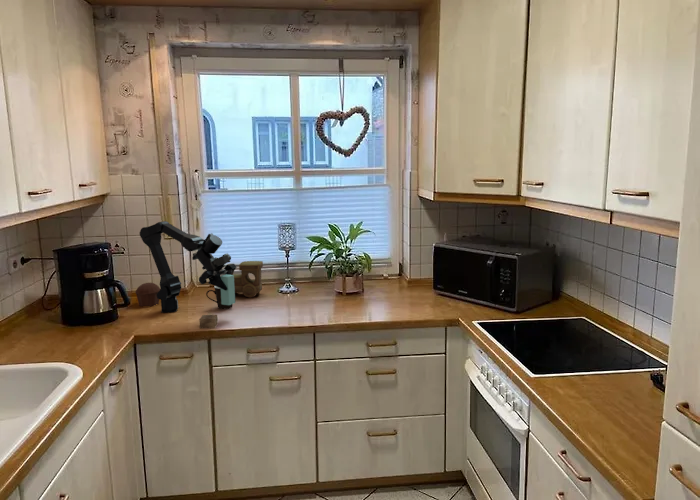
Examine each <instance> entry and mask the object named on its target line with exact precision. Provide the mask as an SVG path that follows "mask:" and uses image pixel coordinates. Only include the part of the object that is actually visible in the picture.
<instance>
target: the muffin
mask: <svg viewBox="0 0 700 500" xmlns="http://www.w3.org/2000/svg"><path fill="white" fill-rule="evenodd" d="M160 289H161V288H160V285H158V284H156V283H154V282H145V283H142V284H141V285H139V286H138V287H137V288H136V290H135V292H134V293H135V295H136V298H137V301H138V306H139V307H142V306H150V307H154V306H153V305H155V306H157V305H156V304H158V305H159V304H160V299H158V298H157V295H156V294H157V293H158V292H159V291H160Z"/></svg>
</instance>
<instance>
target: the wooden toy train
mask: <svg viewBox="0 0 700 500" xmlns="http://www.w3.org/2000/svg"><path fill="white" fill-rule="evenodd" d="M263 267H264V261H261V260H245V261H244V260H243V261H242V262H240V263H239V265H238V268H239V271H240V272H241V273H236V274H235V270H234V271H233V272H232V274H231V275H234V288H235V294H242V295H244V296H245V298H249V299H251V298H254V297H255V296H256V295H257V294H259V293H261V291H262V290H263V286H262V285H263V284H262V269H263ZM250 274H252V275H253V276H254V279H251V278H250V276H249V275H250Z"/></svg>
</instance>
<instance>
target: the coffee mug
mask: <svg viewBox="0 0 700 500" xmlns="http://www.w3.org/2000/svg"><path fill="white" fill-rule="evenodd" d="M213 286H214V289H208V290H207V291H206V293H205V294H206V297H207V299H209V300H210V301H213V302H215V303H216V304H217V309H218V310H228V309H232V308H233V305H234V304H231V305H223V304H222V303H221V288H219V287H217V286H215V285H213ZM209 292H212V293H214V295H215V299H216V300H215V299H213V298H211V297H210V296H208V294H209Z"/></svg>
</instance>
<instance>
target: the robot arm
mask: <svg viewBox="0 0 700 500" xmlns="http://www.w3.org/2000/svg"><path fill="white" fill-rule="evenodd" d="M163 234H164V235H166V236H168V237H170V238H171V239H173V240H176V241H177V242H179V243H180V244H181V246H182V248H184V249H185V250H186V251H188V252H194V253H192V258H191V259H192V260H193V261H195V260H198V261H199V262H200V264H201V266H202V270H204V272H202V273H201V275H200V276H199V278H198V282H199V284H201V285H204V284H206V283H207V282H208V283H207V284H209V285H212V286H217V287H219V288H221V289H223V290H227V289H228V288H227V287H226V285H225V284H224V282H223V281H222V279H221V278H220V276H223V275H226V274H227V275H231V274H232V272H233V271H234V272H235V270H236V269H237V267H238V266H237V265H236V264H235V263H230V262H231V261H232V256H231V255H230V254H229V253H228V252H227V253H224V254H222V255H221V256H219V257H214V256H213V254H215V253H216V252H218V250H219V248H220V247H221V246H222V244H223V240H222V238H221V237H219V236H217V235H215V234H213V233H212V232H211V233H208V234H207V236H206V237H205V239H204V238H202V236H199V235H196V234H193V233H192V234H191V233H187V232H185V231H183V230H181V228H178V227H176V226H174V225H173V224H171V223H170V222H169V221H167V220H165V221H164V220H163V221H159V222H156V223H155V224H152V225H149V226H143V227H142V228H140V231H139V237H140V239H141V241H142V242H143V243H144V244H145V246H147V247H148V248H149V251H150V253H151V256H152V258H153V260H154V264H155V266H156V269H157V271H158V275H159V276H160V281H159V288H160V291H159V292H158V293H157V294H156V295H157V298H158V299H159V300H160V306H161V311H160V313H161V314H162V313H163V314H165V313H176V312H177V310H178V309H179V300H178V299H177V297H178V296H180V293H181V290H182V282H181V281H180V277H179V276H178V275H174V274H173V273H172V270H171V268H170V265H169V263H168V260H167V258H166V255H165V252H164V250H163V247H162V244H161V242H162V235H163ZM195 251H196V252H195ZM234 272H233V273H234Z"/></svg>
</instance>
